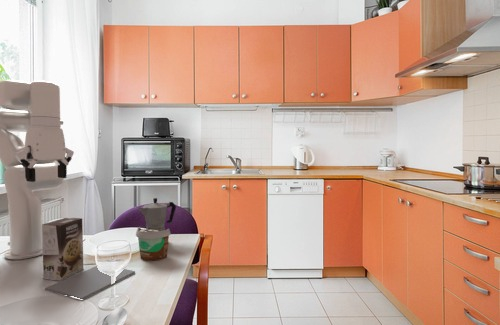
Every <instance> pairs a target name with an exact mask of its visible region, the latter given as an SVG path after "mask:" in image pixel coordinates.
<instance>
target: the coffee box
mask: <svg viewBox="0 0 500 325" xmlns="http://www.w3.org/2000/svg"><path fill="white" fill-rule="evenodd" d="M83 230H84V229H83V218H82V217H81V218H79V217H64V218H61V219H57V220H53V221H50V222H45V223H43V224H42V244H43V254H42V279H43V280H51V281H58V282H60V281H62V280H64V279H67V278H69V277H71V276H74V275H76V274H77V273H78V272H80V271H82V270H84V268H85V267H84V237H83V234H84V231H83Z"/></svg>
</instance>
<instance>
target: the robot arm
mask: <svg viewBox="0 0 500 325" xmlns="http://www.w3.org/2000/svg"><path fill="white" fill-rule="evenodd" d="M60 89H61V88H60V86H59V84H57V83H55V82H53V81H47V80H46V81H45V80H33V81H32V82H29V81H28V82H27V81H24V80H14V79H6V80H5V79H4V80H2V81H0V107H1V108H0V162H1V164H2V166H3V168H4V169H5V171H4V172H3V182H4V187H5V191H6V195H7V204H8V205H7V206H8V209H7V210H8V223H9V224H8V229H9V231H8V232H9V241H8V242H7V246H9V250H7V251H6V252H5V253H4V258H5V259H7V260H25V259H31V258H36V257H39V256H41V255H42V256H43V244H42V224H44V223H43V205H42V201H41V199H39V197H38V196H36V194H34V192H36V191H46V190H54V189H58V188H60V187H61V186H63V184H64V181H65V179H66V178H67V172H68V170H67V168H68V165H69V163H70V162H71V160H72V158H73V156H74V154H75V152H74V151H73V150H72V149H69V148H67V147H66V141H65V135H64V130H63V128H61V126H62V125H64V120H61V92H60ZM15 132H18V133H21V132H22V133H25V139H24V140H25V141H24V142H23V140H22V139H21V138H20V137H19V136H18V135H16V134H15Z"/></svg>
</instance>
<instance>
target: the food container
mask: <svg viewBox="0 0 500 325" xmlns="http://www.w3.org/2000/svg"><path fill="white" fill-rule="evenodd" d="M135 236H136V237H137V240H138V249H139V256H140V259H141V260H142V261H145V262H154V261H155V262H156V261H160V260H164V259H166V258H168V252H169V250H168V248H169V238H170V236H171V230H170V228H167V229H165V230H164V231H160V230H156V229H150V230H146V229H143V228H141V226H139V227H137V230H136V232H135Z"/></svg>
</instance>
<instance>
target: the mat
mask: <svg viewBox="0 0 500 325" xmlns="http://www.w3.org/2000/svg"><path fill="white" fill-rule="evenodd" d="M97 266H98V265H96V266H93V267H91V268H88V269H86V270H83V271H82V272H79V273H75V274H73V275H71V276H69V277H67V278H65V279H63V280H61V281H58V282H55V283H53V284H50V285H48V286H46V287H44V290H45V291H48V292H51V293H55V294H58V295H61V296H64V295H67V296H66V297H68V296H74V297H77V298H80V299H84V300H85V299H88V298H90V297H92V296H93V295H95V294H97V293H99V292H102V291H104V290H105V289H107V288H109V287H111V286H112V285H111V276H109V275H107V274H104V273H102V272H100V271H99V270H98V268H97ZM123 269H124V270H123V271H122V272H121V273H120V274H119V275H118V276H117V277H116V281H115V284H117V283H119V282H121V281H123V280H124V279H126V278H128V277H131V276H132V275H134V274H136V271H135V270H132V269H131V270H130V269H127V268H123Z"/></svg>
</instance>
